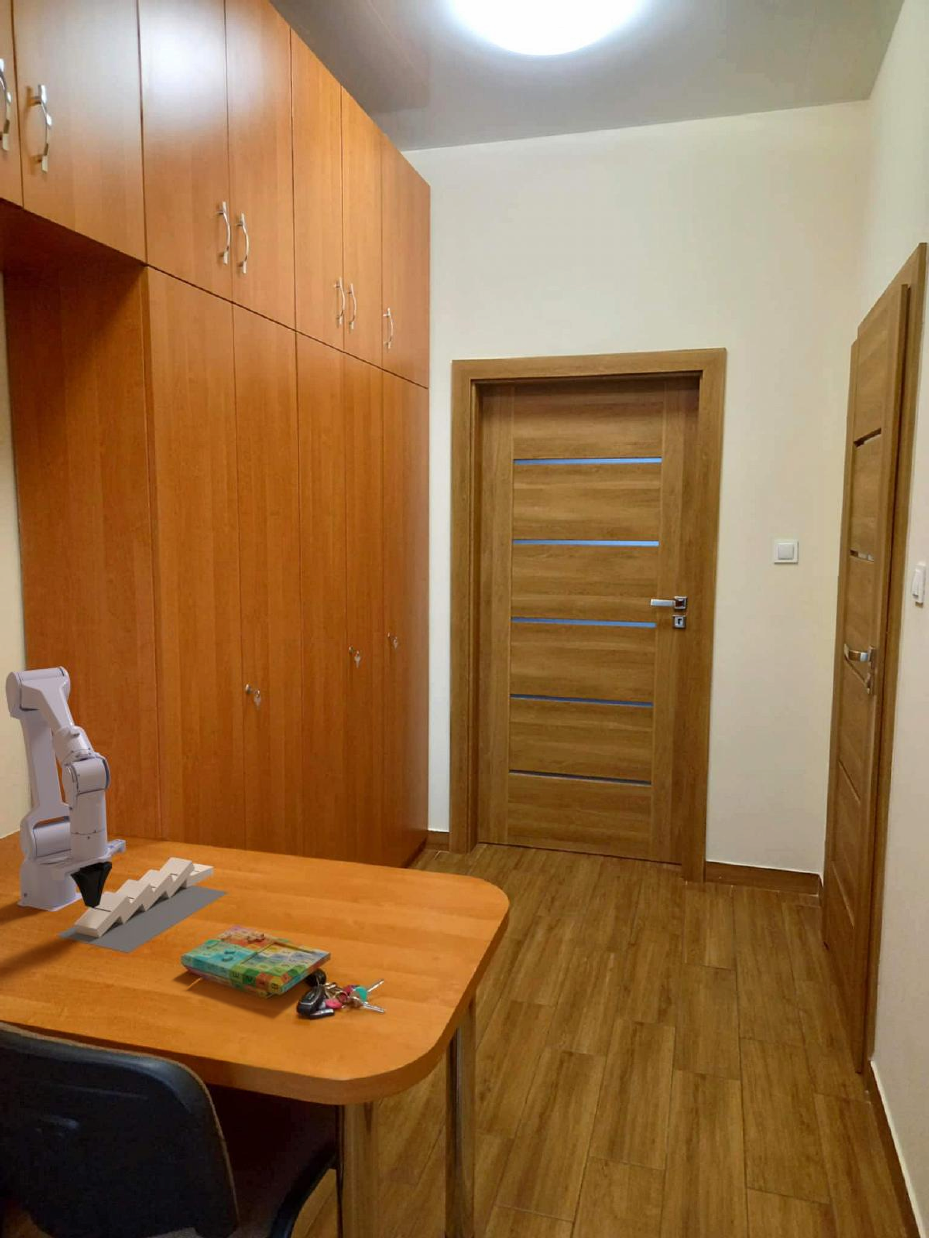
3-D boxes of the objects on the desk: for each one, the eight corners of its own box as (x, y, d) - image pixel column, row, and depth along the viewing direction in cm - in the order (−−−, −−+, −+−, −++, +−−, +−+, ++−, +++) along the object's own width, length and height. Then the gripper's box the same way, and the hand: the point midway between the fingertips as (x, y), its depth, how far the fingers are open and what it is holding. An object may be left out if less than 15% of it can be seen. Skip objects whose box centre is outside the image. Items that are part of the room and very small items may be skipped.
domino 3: (142, 902, 160) (170, 873, 166) (121, 898, 162) (150, 869, 168) (145, 911, 161) (173, 881, 167) (124, 907, 162) (153, 877, 169)
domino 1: (96, 928, 150) (127, 895, 156) (73, 923, 151) (105, 890, 158) (99, 937, 150) (131, 903, 157) (77, 932, 152) (109, 899, 159)
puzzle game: (233, 920, 148) (330, 947, 139) (234, 947, 149) (330, 975, 139) (181, 950, 138) (281, 980, 129) (182, 978, 138) (282, 1011, 129)
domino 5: (186, 877, 170) (213, 866, 178) (166, 873, 172) (193, 862, 180) (186, 887, 170) (213, 876, 178) (165, 883, 172) (193, 873, 180)
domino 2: (120, 915, 155) (149, 883, 161) (98, 910, 157) (128, 878, 163) (124, 923, 156) (153, 891, 162) (102, 919, 157) (131, 887, 164)
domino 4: (166, 890, 165) (191, 860, 172) (145, 886, 167) (171, 856, 173) (169, 898, 166) (195, 868, 172) (148, 894, 168) (174, 864, 174)
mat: (55, 938, 151) (55, 935, 151) (162, 882, 175) (162, 879, 175) (128, 956, 145) (128, 952, 145) (228, 895, 169) (228, 892, 169)
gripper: (72, 846, 142) (76, 926, 144) (137, 818, 156) (141, 892, 157) (40, 840, 145) (44, 919, 146) (107, 813, 158) (110, 886, 160)
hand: (92, 905), depth 152 cm, fingers closed
